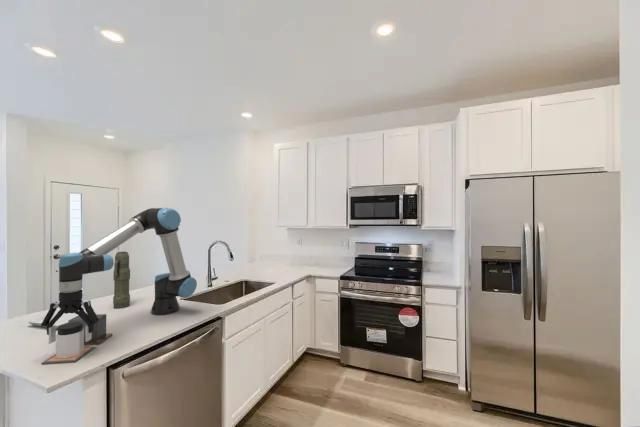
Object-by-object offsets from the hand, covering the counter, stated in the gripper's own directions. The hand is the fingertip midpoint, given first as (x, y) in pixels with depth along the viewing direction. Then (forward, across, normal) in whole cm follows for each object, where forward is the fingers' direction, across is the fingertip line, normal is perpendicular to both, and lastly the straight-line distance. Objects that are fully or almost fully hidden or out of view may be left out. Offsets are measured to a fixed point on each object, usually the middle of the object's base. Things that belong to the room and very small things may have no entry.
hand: (70, 341), depth 122 cm
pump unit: (+6, -2, +15) cm, 16 cm away
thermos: (+6, -13, +68) cm, 69 cm away
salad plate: (+7, -30, +43) cm, 53 cm away
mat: (+6, 0, 0) cm, 6 cm away
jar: (+5, 0, 0) cm, 5 cm away
